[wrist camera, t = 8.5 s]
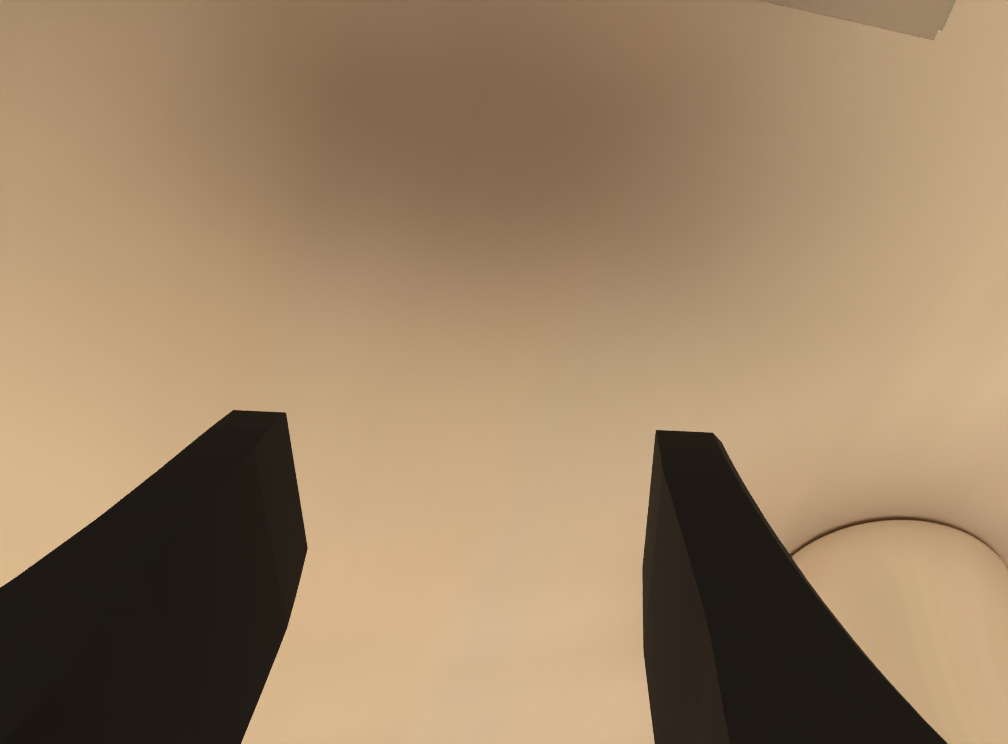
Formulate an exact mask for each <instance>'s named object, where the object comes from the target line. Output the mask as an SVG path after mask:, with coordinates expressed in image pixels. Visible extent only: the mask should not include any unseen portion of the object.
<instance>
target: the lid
mask: <svg viewBox="0 0 1008 744" xmlns="http://www.w3.org/2000/svg"><path fill="white" fill-rule="evenodd" d="M760 1H764V2H769V3H773V4H778V5H782V6H786V7H791V8H795V9H799V10H804V11H808V12H812V13H817V14H821V15H826V16H830V17H834V18H839V19H843V20H847V21H852V22H856V23H860V24H865V25H869V26H874V27H878V28H882V29H887V30H891V31H895V32H900V33H904V34H908V35H913V36H917V37H922V38H926V39H930V40H934V38H935V36H936V34H937V31H938V30H941V31H942V30H943V28H944V26H945V24H946V21H947V19H948V17H949V14H950V12H951V10H952V8H953V5H954V3H955V1H956V0H760Z"/></svg>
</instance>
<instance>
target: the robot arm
mask: <svg viewBox="0 0 1008 744" xmlns="http://www.w3.org/2000/svg"><path fill="white" fill-rule="evenodd" d="M306 553H307V542H306V536H305V529H304V523H303V517H302V510H301V504H300V498H299V492H298V485H297V479H296V473H295V467H294V460H293V454H292V448H291V442H290V435H289V429H288V423H287V417H286V413H282V412H261V411H240V410H233V411H232V412H230V413H229V414H228V415H226V416H225V417H224V418H222V419H221V420H220V421H218V422H217V423H216V424H214V425H213V426H212V427H211V428H209V429H208V430H207V431H206V432H204V433H203V434H202V435H201V436H200V437H198V438H197V439H196V440H195V441H193V442H192V443H191V444H190V445H188V446H187V447H186V448H185V449H184V450H182V451H181V452H180V453H179V454H177V455H176V456H175V457H174V458H173V459H171V460H170V461H169V462H168V463H166V464H165V465H164V466H163V467H162V468H160V469H159V470H158V471H157V472H155V473H154V474H153V475H152V476H150V477H149V478H148V479H147V480H145V481H144V482H143V483H142V484H140V485H139V486H138V487H136V488H135V489H134V490H133V491H131V492H130V493H129V494H128V495H126V496H125V497H124V498H123V499H121V500H120V501H119V502H118V503H116V504H115V505H114V506H113V507H111V508H110V509H109V510H107V511H106V512H105V513H104V514H102V515H101V516H100V517H98V518H97V519H96V520H95V521H93V522H92V523H90V524H89V525H88V526H86V527H85V528H83V529H82V530H81V531H79V532H78V533H77V534H75V535H74V536H72V537H71V538H70V539H68V540H67V541H66V542H64V543H63V544H61V545H60V546H59V547H57V548H56V549H54V550H53V551H52V552H50V553H49V554H48V555H46V556H45V557H43V558H42V559H41V560H39V561H38V562H37V563H35V564H34V565H32V566H31V567H30V568H28V569H27V570H25V571H24V572H23V573H21V574H20V575H19V576H17V577H16V578H14V579H13V580H11V581H10V582H8V583H7V584H5V585H4V586H2V587H1V588H0V744H241V742H242V740H243V737H244V735H245V732H246V730H247V727H248V725H249V722H250V720H251V717H252V715H253V712H254V710H255V708H256V705H257V703H258V700H259V698H260V695H261V693H262V690H263V688H264V685H265V683H266V680H267V678H268V675H269V673H270V670H271V668H272V665H273V663H274V660H275V658H276V655H277V653H278V650H279V647H280V645H281V642H282V640H283V637H284V634H285V632H286V629H287V626H288V623H289V619H290V615H291V612H292V608H293V604H294V601H295V597H296V593H297V589H298V585H299V581H300V577H301V573H302V569H303V565H304V561H305V557H306ZM643 646H644V659H645V667H646V676H647V684H648V692H649V700H650V709H651V717H652V725H653V733H654V741H655V744H948V743H947V742H946V741H945V740H944V739H943V738H942V737H941V736H940V735H939V734H938V733H937V732H936V731H935V730H934V729H933V728H932V727H931V726H930V725H929V724H928V723H927V722H926V721H925V720H924V719H923V718H922V716H921V715H920V714H919V713H918V712H917V711H916V710H915V709H914V708H913V707H912V706H911V705H910V703H909V702H908V701H907V700H906V699H905V698H904V697H903V696H902V695H901V694H900V693H899V692H898V690H897V689H896V688H895V687H894V686H893V685H892V684H891V683H890V682H889V681H888V679H887V678H886V677H885V676H884V675H883V674H882V673H881V671H880V670H879V669H878V668H877V667H876V666H875V665H874V663H873V662H872V661H871V660H870V659H869V657H868V656H867V655H866V654H865V653H864V652H863V650H862V649H861V648H860V647H859V646H858V644H857V643H856V642H855V641H854V640H853V638H852V637H851V636H850V634H849V633H848V632H847V631H846V629H845V628H844V627H843V626H842V624H841V623H840V622H839V621H838V619H837V618H836V617H835V616H834V614H833V613H832V612H831V610H830V609H829V608H828V607H827V605H826V604H825V603H824V601H823V600H822V599H821V597H820V596H819V595H818V593H817V592H816V591H815V589H814V588H813V587H812V585H811V584H810V583H809V581H808V580H807V579H806V577H805V576H804V574H803V573H802V571H801V570H800V569H799V567H798V566H797V564H796V563H795V561H794V560H793V559H792V557H791V556H790V554H789V553H788V551H787V550H786V548H785V547H784V546H783V544H782V543H781V541H780V540H779V538H778V537H777V536H776V534H775V532H774V531H773V529H772V528H771V526H770V525H769V523H768V522H767V520H766V519H765V517H764V516H763V514H762V512H761V511H760V509H759V507H758V506H757V504H756V503H755V501H754V499H753V498H752V496H751V494H750V493H749V491H748V490H747V488H746V486H745V484H744V483H743V481H742V479H741V478H740V476H739V474H738V472H737V470H736V469H735V467H734V465H733V463H732V461H731V460H730V458H729V456H728V454H727V452H726V450H725V448H724V446H723V444H722V442H721V441H720V440H719V439H718V438H717V437H716V436H715V435H714V434H713V433H706V432H685V431H663V430H656V435H655V445H654V455H653V465H652V476H651V486H650V496H649V507H648V517H647V527H646V538H645V548H644V558H643Z"/></svg>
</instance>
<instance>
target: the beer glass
mask: <svg viewBox="0 0 1008 744" xmlns="http://www.w3.org/2000/svg"><path fill="white" fill-rule="evenodd" d="M791 557H792V559H793V560H794V561H795V563H796V564H797V566H798V567H799V569H800V570H801V571H802V573H803V574H804V576H805V577H806V579H807V580H808V581H809V583H810V584H811V585H812V587H813V588H814V589H815V591H816V592H817V593H818V595H819V596H820V597H821V599H822V600H823V601H824V603H825V604H826V605H827V607H828V608H829V609H830V610H831V612H832V613H833V614H834V616H835V617H836V618H837V619H838V621H839V622H840V623H841V624H842V626H843V627H844V628H845V629H846V631H847V632H848V633H849V634H850V636H851V637H852V638H853V640H854V641H855V642H856V643H857V644H858V646H859V647H860V648H861V649H862V650H863V652H864V653H865V654H866V655H867V656H868V657H869V659H870V660H871V661H872V662H873V663H874V665H875V666H876V667H877V668H878V669H879V670H880V671H881V673H882V674H883V675H884V676H885V677H886V678H887V679H888V681H889V682H890V683H891V684H892V685H893V686H894V687H895V688H896V689H897V690H898V692H899V693H900V694H901V695H902V696H903V697H904V698H905V699H906V700H907V701H908V702H909V703H910V705H911V706H912V707H913V708H914V709H915V710H916V711H917V712H918V713H919V714H920V715H921V716H922V718H923V719H924V720H925V721H926V722H927V723H928V724H929V725H930V726H931V727H932V728H933V729H934V730H935V731H936V732H937V733H938V734H939V735H940V736H941V737H942V738H943V739H944V740H945V741H946V742H947V743H948V744H1008V568H1007V566H1006V565H1005V564H1004V562H1003V561H1002V560H1001V559H1000V558H999V556H998V555H997V554H996V553H995V552H994V551H993V550H992V549H991V548H989V547H988V546H987V545H986V544H984V543H983V542H981V541H980V540H978V539H977V538H975V537H973V536H971V535H970V534H967V533H965V532H963V531H961V530H958V529H955V528H953V527H949V526H946V525H942V524H938V523H933V522H927V521H919V520H882V521H874V522H868V523H862V524H858V525H854V526H850V527H847V528H843V529H840V530H838V531H835V532H832V533H830V534H828V535H825V536H823V537H821V538H819V539H817V540H815V541H813V542H812V543H810V544H808V545H807V546H805V547H804V548H802V549H801V550H799V551H798V552H796V553H795V554H794V555H793V556H791Z"/></svg>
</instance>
